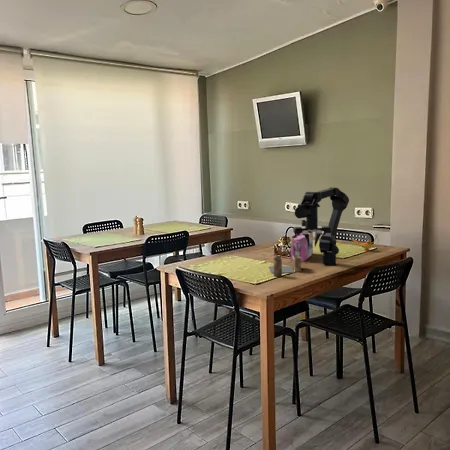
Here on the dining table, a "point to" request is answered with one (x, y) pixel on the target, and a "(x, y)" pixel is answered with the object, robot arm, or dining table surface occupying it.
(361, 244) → the magic lamp
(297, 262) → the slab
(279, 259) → the pepper mill
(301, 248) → the gum box
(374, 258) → the dining table surface
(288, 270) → the mat
